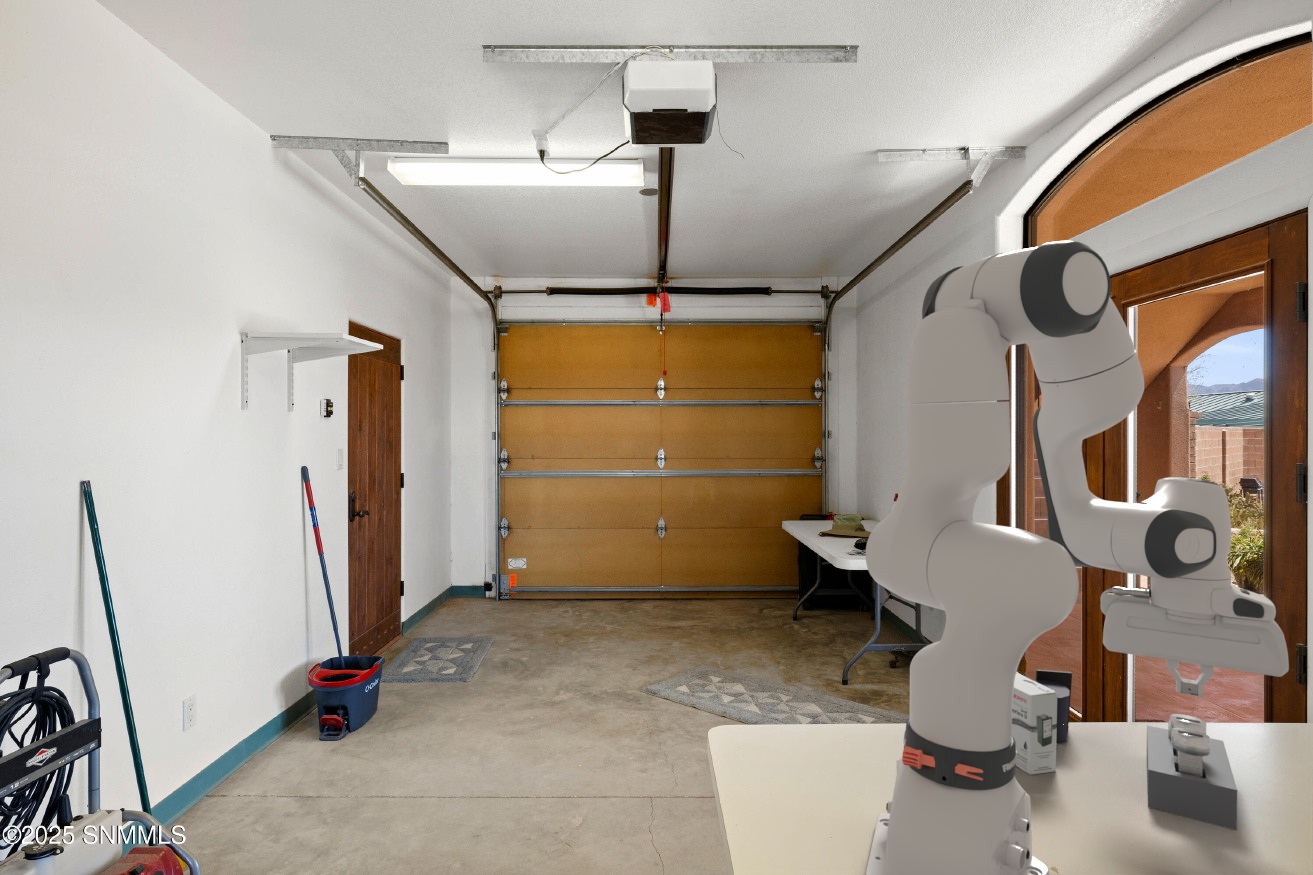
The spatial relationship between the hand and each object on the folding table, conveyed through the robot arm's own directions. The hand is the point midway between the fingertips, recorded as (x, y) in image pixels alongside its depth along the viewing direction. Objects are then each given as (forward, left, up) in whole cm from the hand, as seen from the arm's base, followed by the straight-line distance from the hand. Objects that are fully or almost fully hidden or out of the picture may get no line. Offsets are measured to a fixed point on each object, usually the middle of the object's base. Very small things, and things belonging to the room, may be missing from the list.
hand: (1189, 693), depth 95 cm
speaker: (+8, +17, -14) cm, 23 cm away
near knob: (-6, 0, -9) cm, 10 cm away
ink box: (-4, +20, -14) cm, 25 cm away
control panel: (0, 0, -13) cm, 13 cm away
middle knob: (0, 0, -9) cm, 9 cm away
